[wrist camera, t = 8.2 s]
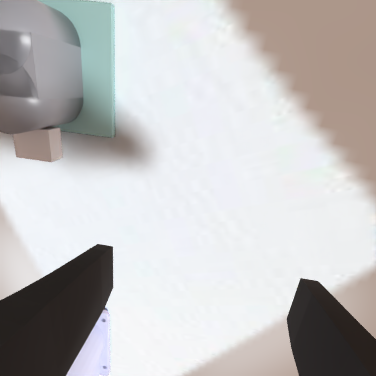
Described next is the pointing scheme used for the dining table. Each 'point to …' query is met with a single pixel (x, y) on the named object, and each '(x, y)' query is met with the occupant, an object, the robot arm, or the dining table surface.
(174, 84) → the dining table surface
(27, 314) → the robot arm
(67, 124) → the mat
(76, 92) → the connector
